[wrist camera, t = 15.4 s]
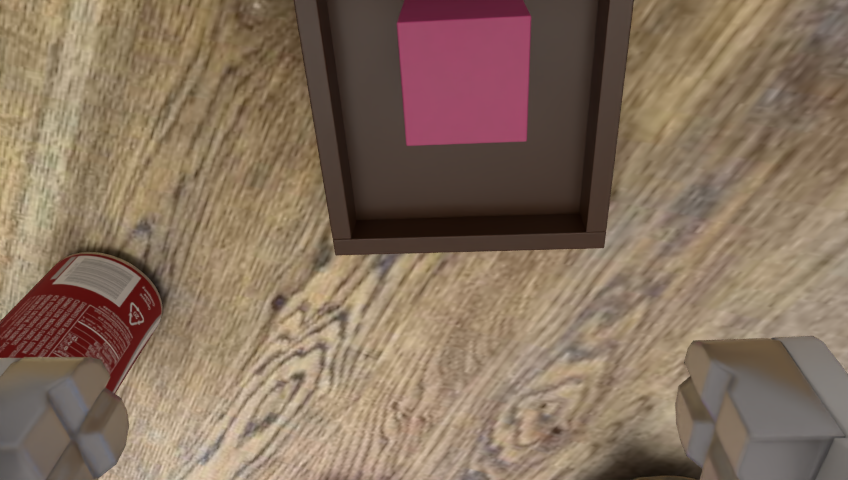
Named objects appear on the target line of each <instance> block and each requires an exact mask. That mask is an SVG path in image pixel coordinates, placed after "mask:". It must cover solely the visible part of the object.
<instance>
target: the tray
mask: <svg viewBox="0 0 848 480" xmlns="http://www.w3.org/2000/svg"><path fill="white" fill-rule="evenodd" d="M523 1H524V3H525V5H526V7H527V9H528V11H529V13H530V15H531V40H530V68H529V96H528V124H527V141H524V142H498V143H472V144H445V145H419V146H407V145H406V136H405V123H404V111H403V98H402V85H401V73H400V60H399V47H398V35H397V21H398V18H399V15H400V12H401V9H402V6H403V3H404V0H294V5H295V12H296V18H297V24H298V30H299V36H300V42H301V48H302V54H303V60H304V66H305V72H306V79H307V85H308V91H309V97H310V103H311V109H312V115H313V121H314V127H315V133H316V139H317V145H318V152H319V158H320V164H321V170H322V176H323V182H324V188H325V194H326V200H327V206H328V212H329V219H330V225H331V231H332V237H333V243H334V249H335V254H336V255H365V254H401V253H438V252H475V251H512V250H549V249H586V248H604V244H605V235H606V232H605V231H606V228H607V219H608V211H609V203H610V194H611V186H612V178H613V169H614V161H615V153H616V144H617V136H618V128H619V119H620V111H621V103H622V94H623V86H624V78H625V70H626V61H627V53H628V45H629V36H630V28H631V20H632V11H633V3H634V0H523Z"/></svg>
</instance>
